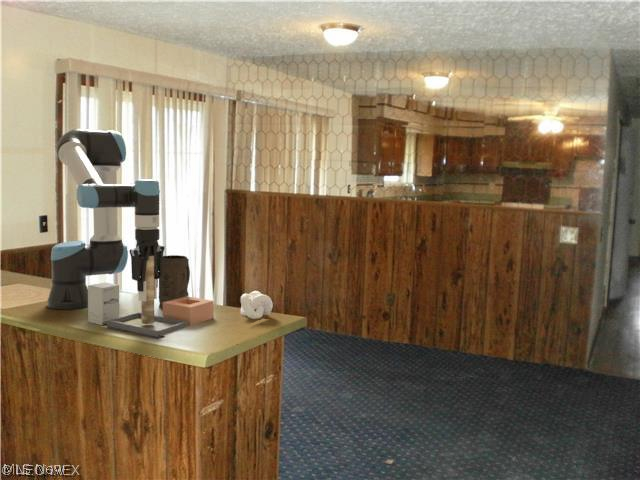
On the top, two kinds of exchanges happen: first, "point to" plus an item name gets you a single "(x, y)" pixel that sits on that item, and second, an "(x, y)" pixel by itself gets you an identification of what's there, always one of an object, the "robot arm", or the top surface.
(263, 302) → the white decorative knot
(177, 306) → the orange square hole block
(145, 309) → the wooden peg
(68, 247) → the robot arm
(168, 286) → the beer stein
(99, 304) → the supplement box
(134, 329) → the tray
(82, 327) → the top surface
